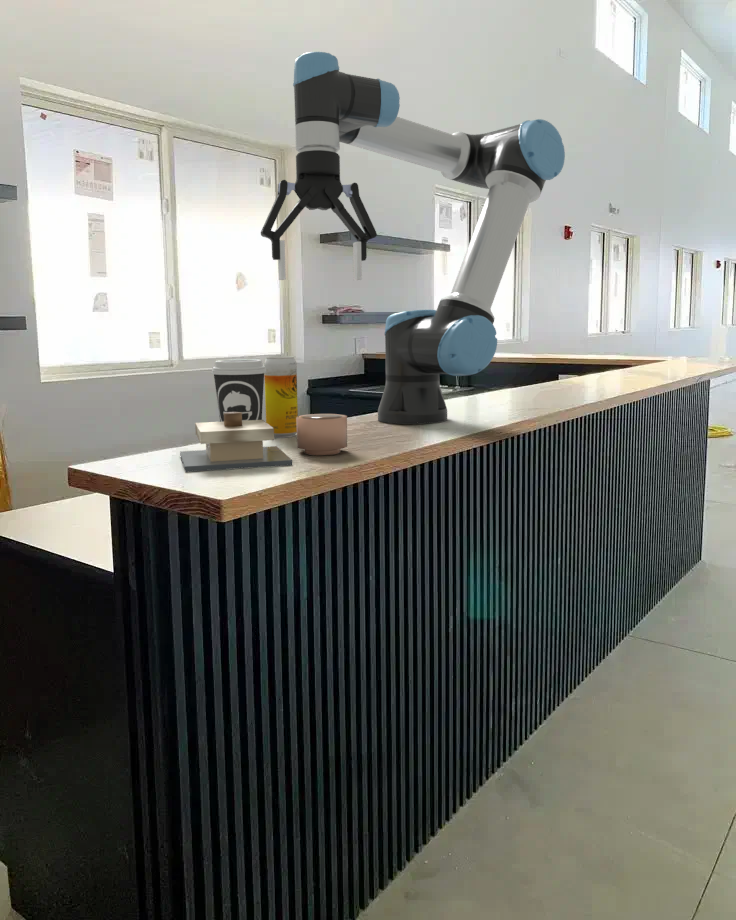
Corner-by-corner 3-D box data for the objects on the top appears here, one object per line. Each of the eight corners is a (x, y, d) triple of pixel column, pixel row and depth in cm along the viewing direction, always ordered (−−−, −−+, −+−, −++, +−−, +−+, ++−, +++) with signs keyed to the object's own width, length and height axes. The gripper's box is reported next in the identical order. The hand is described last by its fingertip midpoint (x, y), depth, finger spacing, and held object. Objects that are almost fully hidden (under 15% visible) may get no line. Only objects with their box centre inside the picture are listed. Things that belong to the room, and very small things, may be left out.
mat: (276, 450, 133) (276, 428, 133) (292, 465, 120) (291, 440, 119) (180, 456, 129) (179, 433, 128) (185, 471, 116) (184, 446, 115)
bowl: (340, 446, 137) (339, 412, 135) (353, 454, 129) (352, 418, 128) (292, 449, 134) (291, 414, 133) (302, 457, 126) (301, 420, 125)
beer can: (293, 438, 147) (290, 357, 144) (262, 437, 148) (259, 357, 145) (302, 433, 153) (300, 356, 150) (272, 433, 154) (269, 356, 151)
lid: (263, 430, 130) (262, 407, 130) (274, 440, 120) (273, 415, 119) (195, 433, 127) (194, 410, 127) (200, 443, 117) (199, 418, 116)
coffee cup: (280, 445, 139) (277, 360, 136) (235, 452, 132) (232, 362, 129) (247, 440, 145) (244, 358, 142) (203, 446, 138) (199, 361, 136)
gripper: (380, 160, 142) (381, 280, 145) (241, 153, 135) (246, 280, 139) (393, 152, 135) (394, 278, 138) (247, 144, 128) (252, 278, 131)
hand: (320, 280), depth 138 cm, fingers open, 13 cm apart
